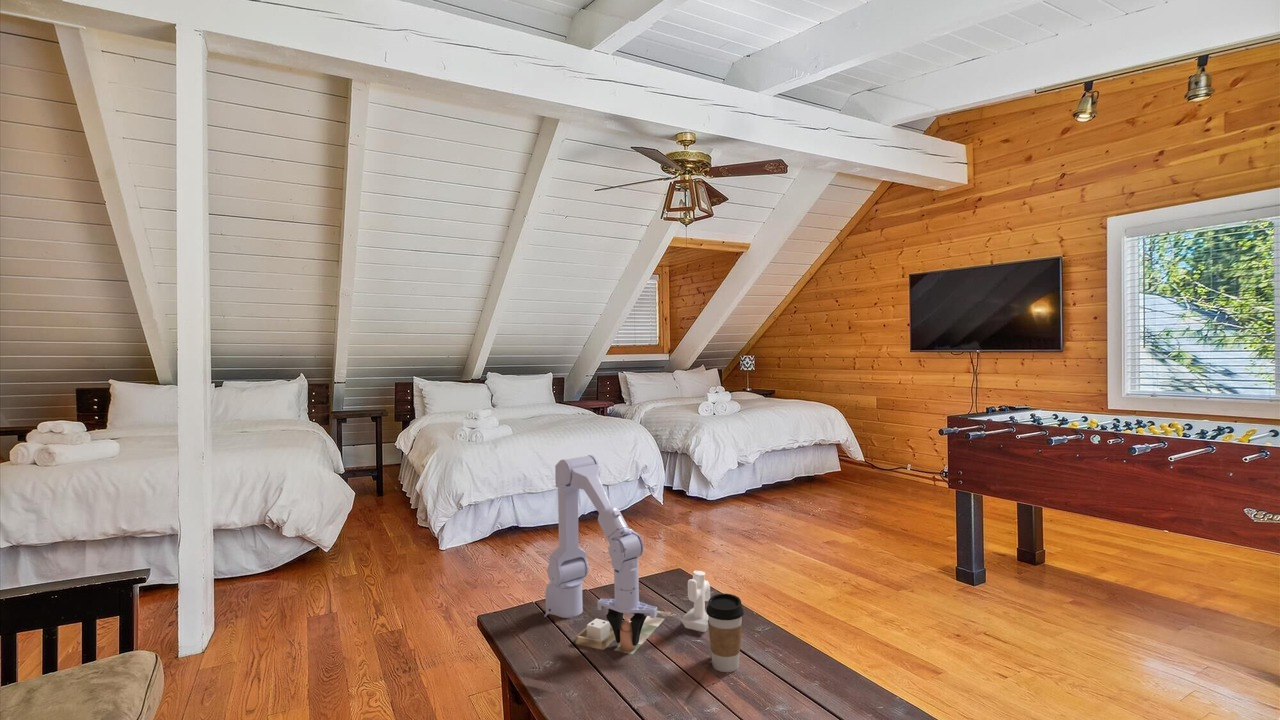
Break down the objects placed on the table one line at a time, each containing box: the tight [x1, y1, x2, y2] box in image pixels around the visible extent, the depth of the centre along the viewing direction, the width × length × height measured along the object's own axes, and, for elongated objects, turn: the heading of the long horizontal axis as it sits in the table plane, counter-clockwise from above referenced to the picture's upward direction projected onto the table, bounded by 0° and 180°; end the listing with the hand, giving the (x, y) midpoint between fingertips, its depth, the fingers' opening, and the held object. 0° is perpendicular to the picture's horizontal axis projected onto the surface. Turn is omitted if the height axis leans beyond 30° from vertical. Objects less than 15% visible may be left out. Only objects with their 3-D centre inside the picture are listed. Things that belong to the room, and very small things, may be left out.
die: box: [586, 617, 611, 641], centre depth 159 cm, size 4×4×4 cm
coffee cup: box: [705, 593, 745, 673], centre depth 148 cm, size 8×8×15 cm
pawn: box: [619, 618, 635, 651], centre depth 154 cm, size 4×4×7 cm
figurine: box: [680, 570, 711, 633], centre depth 165 cm, size 7×9×15 cm
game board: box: [575, 610, 672, 655], centre depth 164 cm, size 15×26×3 cm, turn 156°
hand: (627, 642), depth 155 cm, fingers closed on pawn, 4 cm apart
